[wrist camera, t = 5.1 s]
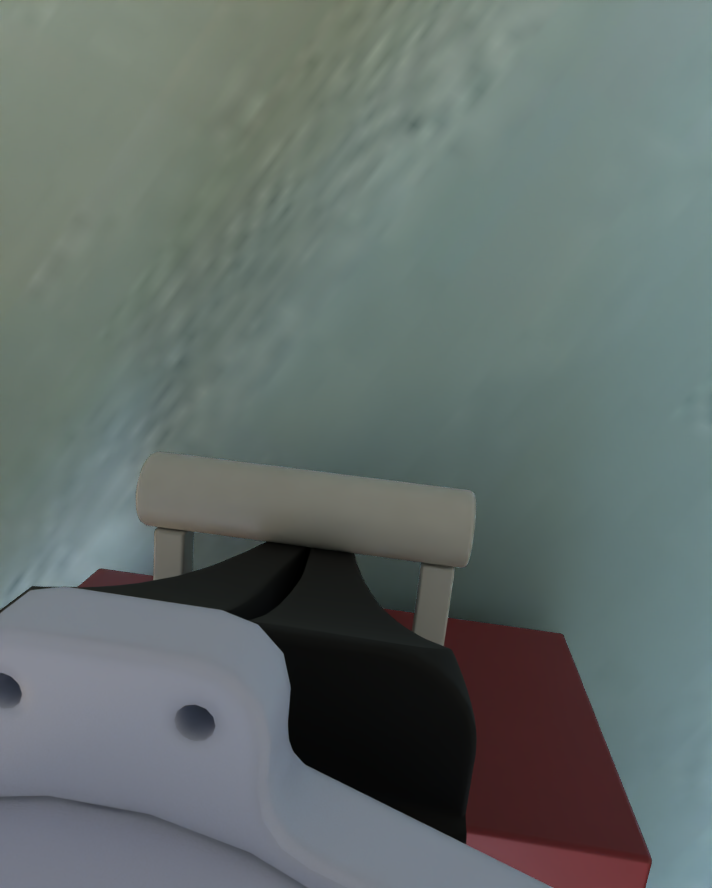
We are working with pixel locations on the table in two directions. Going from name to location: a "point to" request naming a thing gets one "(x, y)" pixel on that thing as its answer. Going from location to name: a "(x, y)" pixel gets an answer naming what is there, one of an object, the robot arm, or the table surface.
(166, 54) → the table surface
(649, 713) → the table surface
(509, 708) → the drawer
